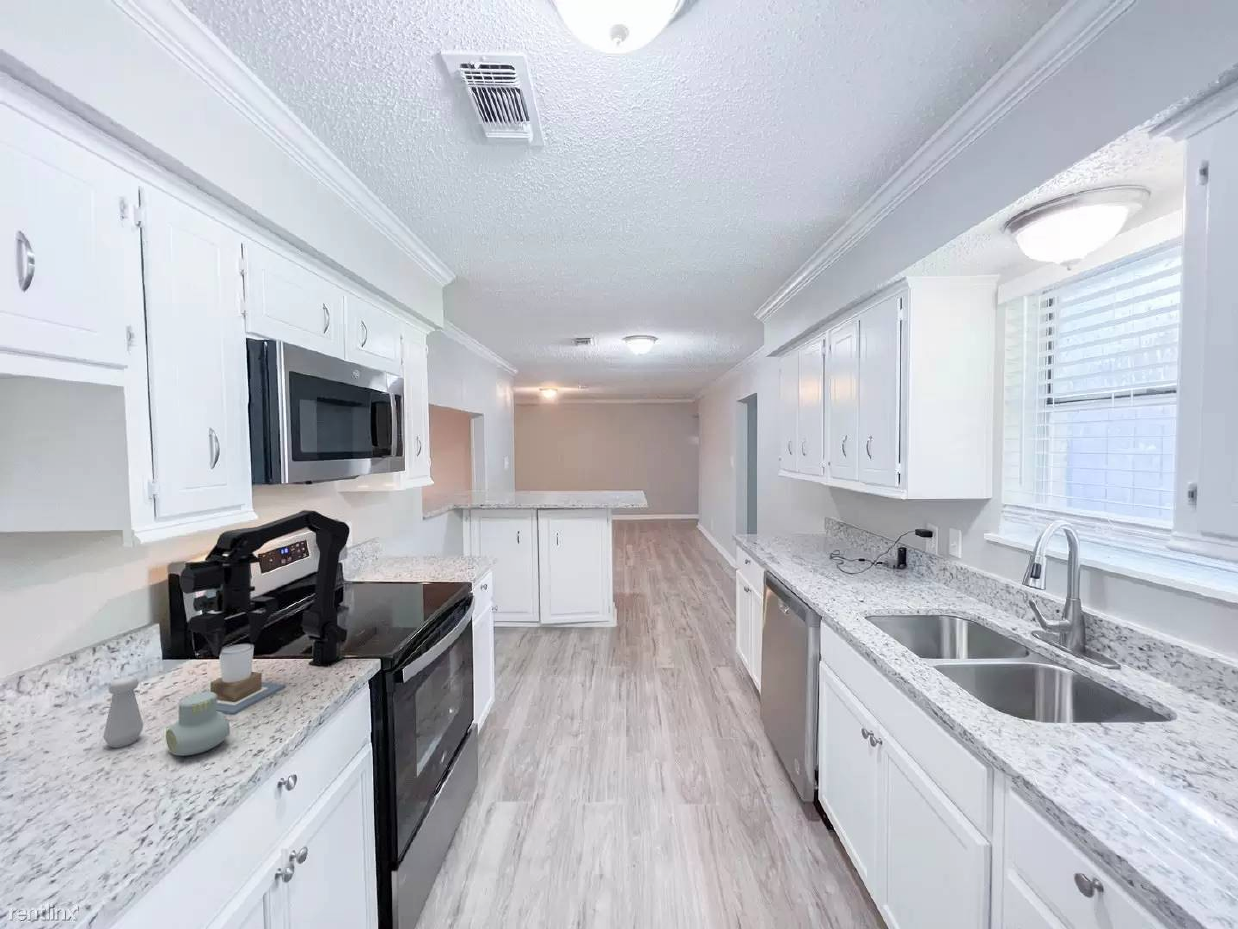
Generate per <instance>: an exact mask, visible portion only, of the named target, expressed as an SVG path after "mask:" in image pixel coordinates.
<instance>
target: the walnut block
mask: <svg viewBox="0 0 1238 929" xmlns="http://www.w3.org/2000/svg"><path fill="white" fill-rule="evenodd" d="M262 674H263V673H262V672H255V671H251V676H250V677H249V678H247V679H244V680H241V681H237V682H230V683H227V682H223V681H222V676H221V677H219V678H217V679H215V680H213V681H210V682H209V683H210V684H209V685H210V690H209V692H213V693H215V694H216V695H217V700H220V701H228V702H237V701H239V700H241V699H243V698H245V697H247V696H249V695H251V694H253V693H255V692H257V691H259V690H261V689H262V682H263V681H262V680H263V678H262V677H263V675H262Z"/></svg>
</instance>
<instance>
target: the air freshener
mask: <svg viewBox="0 0 1238 929" xmlns="http://www.w3.org/2000/svg"><path fill="white" fill-rule="evenodd" d="M230 727H231V726H230V722H229V720H228V718H227V716H226V714H225V713H222V712H217V695H216V694H215V693H213V692H210V691H202V692H197V693H192V694H191V695H188V696H186V697H184V698H183V699H181V700H180V701H179V703H178V721H176V722H175V723H173V724H172V725H171V726H170V727H168V729H167V730H166V732H165V741H166V745H167V748H168V750H169V751H170V753H171V754H172V755H174V756H181V757H182V756H184V757H185V756H193V755H194V756H195V755H197V754H201V753H202V754H203V753H205V752H207V751H210V750H211V749H213V748H215V747H217V746H218V745H220V744H221V743H222V742H224V740H225V739H227V737H228V736H229V734H230V733H231V732H230V731H231V728H230Z"/></svg>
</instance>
